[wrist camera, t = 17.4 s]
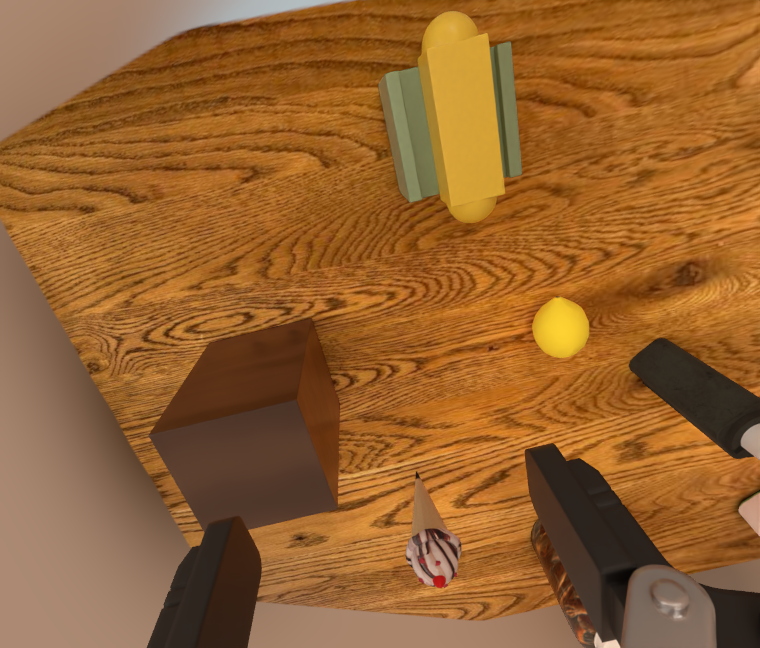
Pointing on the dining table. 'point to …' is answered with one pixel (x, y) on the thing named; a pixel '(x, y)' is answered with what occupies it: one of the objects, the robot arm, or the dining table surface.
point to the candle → (702, 397)
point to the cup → (751, 511)
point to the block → (413, 133)
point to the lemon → (560, 328)
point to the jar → (566, 591)
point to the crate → (255, 429)
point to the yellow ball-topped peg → (461, 115)
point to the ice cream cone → (431, 542)
